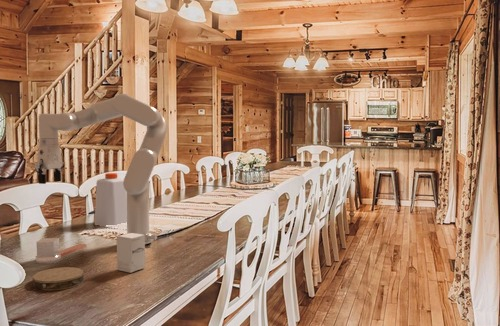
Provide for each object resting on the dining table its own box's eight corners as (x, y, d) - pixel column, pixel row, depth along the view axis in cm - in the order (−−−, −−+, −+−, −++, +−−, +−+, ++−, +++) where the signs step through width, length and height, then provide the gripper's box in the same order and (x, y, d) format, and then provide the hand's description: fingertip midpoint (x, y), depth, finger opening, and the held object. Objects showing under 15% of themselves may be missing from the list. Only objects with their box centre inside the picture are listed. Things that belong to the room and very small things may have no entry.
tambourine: (48, 274, 174) (48, 266, 174) (91, 276, 172) (91, 267, 172) (23, 289, 158) (22, 280, 158) (70, 291, 156) (69, 282, 156)
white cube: (59, 253, 193) (59, 238, 193) (54, 257, 187) (53, 241, 186) (43, 253, 193) (42, 238, 192) (37, 257, 186) (36, 242, 186)
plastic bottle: (91, 227, 255) (89, 173, 253) (114, 222, 267) (113, 171, 265) (110, 231, 246) (109, 175, 244) (133, 226, 259) (132, 173, 257)
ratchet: (92, 248, 210) (91, 235, 209) (50, 265, 184) (50, 250, 184) (74, 247, 212) (73, 233, 212) (30, 263, 187) (30, 248, 186)
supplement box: (131, 273, 175) (130, 238, 174) (116, 270, 179) (115, 235, 178) (145, 268, 181) (145, 234, 180) (131, 265, 185) (130, 232, 184)
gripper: (42, 143, 200) (43, 184, 202) (69, 142, 217) (70, 180, 218) (27, 143, 202) (28, 184, 204) (54, 141, 219) (56, 180, 220)
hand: (50, 182), depth 211 cm, fingers open, 9 cm apart
